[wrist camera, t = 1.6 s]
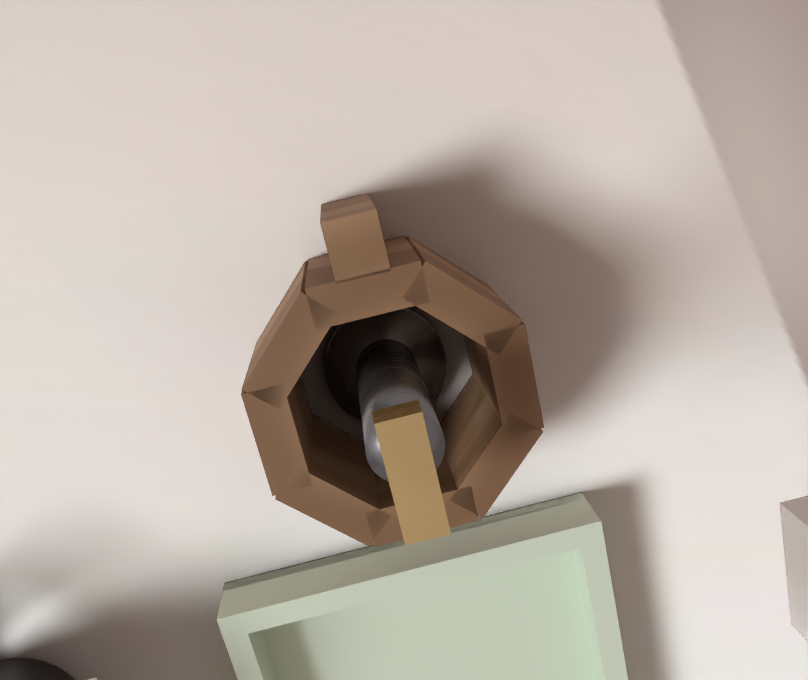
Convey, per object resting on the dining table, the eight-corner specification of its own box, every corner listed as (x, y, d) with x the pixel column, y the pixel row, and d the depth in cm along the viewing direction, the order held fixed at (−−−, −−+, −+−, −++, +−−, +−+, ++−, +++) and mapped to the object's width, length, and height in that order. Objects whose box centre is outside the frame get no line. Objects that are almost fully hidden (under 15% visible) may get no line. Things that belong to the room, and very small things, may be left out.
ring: (220, 228, 29) (197, 252, 24) (466, 169, 29) (497, 180, 24) (299, 494, 32) (294, 567, 27) (520, 439, 32) (557, 500, 27)
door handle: (311, 320, 30) (305, 406, 21) (429, 291, 30) (473, 364, 21) (342, 434, 32) (349, 559, 23) (455, 406, 32) (506, 519, 23)
